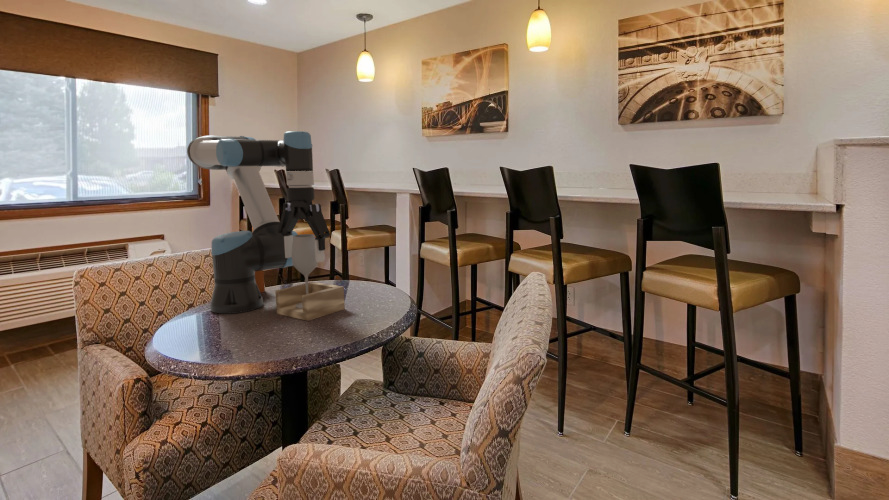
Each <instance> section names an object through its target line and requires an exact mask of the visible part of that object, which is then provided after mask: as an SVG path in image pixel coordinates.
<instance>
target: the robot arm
mask: <svg viewBox="0 0 889 500" xmlns="http://www.w3.org/2000/svg"><path fill="white" fill-rule="evenodd" d="M186 150H187V151H186V153H187V154H186V155H187V158H188V159H189V161H190V162H191V163H192V164H193V165H194V166H196V167H199V168H201V169H206V170H213V171H215V170H216V171H218V170H220V171H221V170H222V171H223V170H225V171H226V174H227V176H228V177H229V178H230V179H232V180H234V182H235V185H236V187H237V190H238V192H239V196H240V197H241V201H242V203H243V206H244V209H245V211H246V213H247V216H248V218H249V222H250V223H251V227H252V231H250V230H241V231H240V230H239V231H231V232H227V233H223V234H222V233H221V234H220V235H217V236H215V237H214V238H213V239H212V240H211V251H210V254H211V257H212V259H211V260H212V268H213V269H212V270H213V278H214V287H213V292H212V294H211V300H210V303H209V304H210V311H211V312H212V313H216V314H238V313H246V312H249V311H253V310H257V309H259V308H261V307H263V305H264V299H263V296H262V293H260V291H259V289H258V286H257V284H256V282H255V271H262V270H263V271H267V270H268V271H269V270H275V269H285V268H288V267H292V266H293V267H294V265H293V263H292V243H293V236H294V235H299V234H298V232H297V231H295V230H294V229H295V227H296V225H297V223H298V221H299V220H304V222H306V223H307V225H308V227H309V229H310V230H311V231H312V233H313V235H314V236H315V257H316V262H317V263H318V264H319V263H322V262H325V261H326V257H325V251H326V239H327V238H329V237H331V233H330V230H329V227H328V226H327V225H328V224H327V222H326V219H325V217H324V215H323V212H322V205H321V204H320V203H313V201H314V200H315V188H314V187H313V186H314V185H315V179H314V166H313V165H314V164H313V144H312V135H311V133H310V132H309V131H299V130H296V131H293V130H292V131H291V130H290V131H284V134H283V139H282V140H279V139H278V140H275V139H274V140H273V139H269V140H268V139H256V138H254V137H252V136H245V135H239V136H231V135H230V136H228V135H203V136H199V137H197V138H194V139H192V140H191V141H190V142H189V143H188V145H187V149H186ZM262 167H279V168H280V167H285V172H286V173H285V174H286V175H285V176H286V177H285V178H286V185H287V189H286V197H287V198H286V199H287V200H288V201H289V202H284V203H282V204H283V205H282V212H281V218H280V220H279V217H278V215H277V213H276V210H275V208H274V205H273V202H272V200H271V198H270V195H269V193H268V190H267V188H266V186H265V183H264V180H263V178H262V176H261V173H260V171H261V169H262Z"/></svg>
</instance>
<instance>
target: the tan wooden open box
mask: <svg viewBox="0 0 889 500" xmlns="http://www.w3.org/2000/svg"><path fill="white" fill-rule="evenodd" d="M274 291H275V292H274V293H275V305H276V306H275V307H276V314H277V315H281V316H285V317H290V318H294V319H299V320H303V321H309V322H310V321H312V320H314V319H319V318H321V317H325V316H328V315H331V314H334V313H337V312H340V311H344V310H345V309H346V308H345V307H346V305H345V302H346V301H345V286H342V285H341V286H340V285H336V284H335V285H334V284H328V283H322V282H316V281H310V282H309V281H308V292H309V294H306V284H305V283H302V284H297V285H293V286H290V287H285V288H281V289H277V290H274ZM298 303H302V305H303V309H299V308H296V307H295V305H296V304H298Z"/></svg>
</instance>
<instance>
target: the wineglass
mask: <svg viewBox="0 0 889 500" xmlns="http://www.w3.org/2000/svg"><path fill="white" fill-rule="evenodd" d="M315 238H316V236H315V235H314V233H313V234H311V233H310V234H309V233H308V234H304V233H303V234H298V235H294V236H293V243H292V263H293V267H294V268H295V269H296V271H298V272H299V273H300V274H302V275H303V276H304V282H305V283H304V284H306V294H309V292H308V283H309V275H310V274H311V273H312V272H313V271H314V270H315V269H316V268H317V266H318V264H319V262H318V263H317V262H316V257H315ZM295 307H296V308H299V309H303V305H302V303H298V304H296V305H295Z"/></svg>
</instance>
